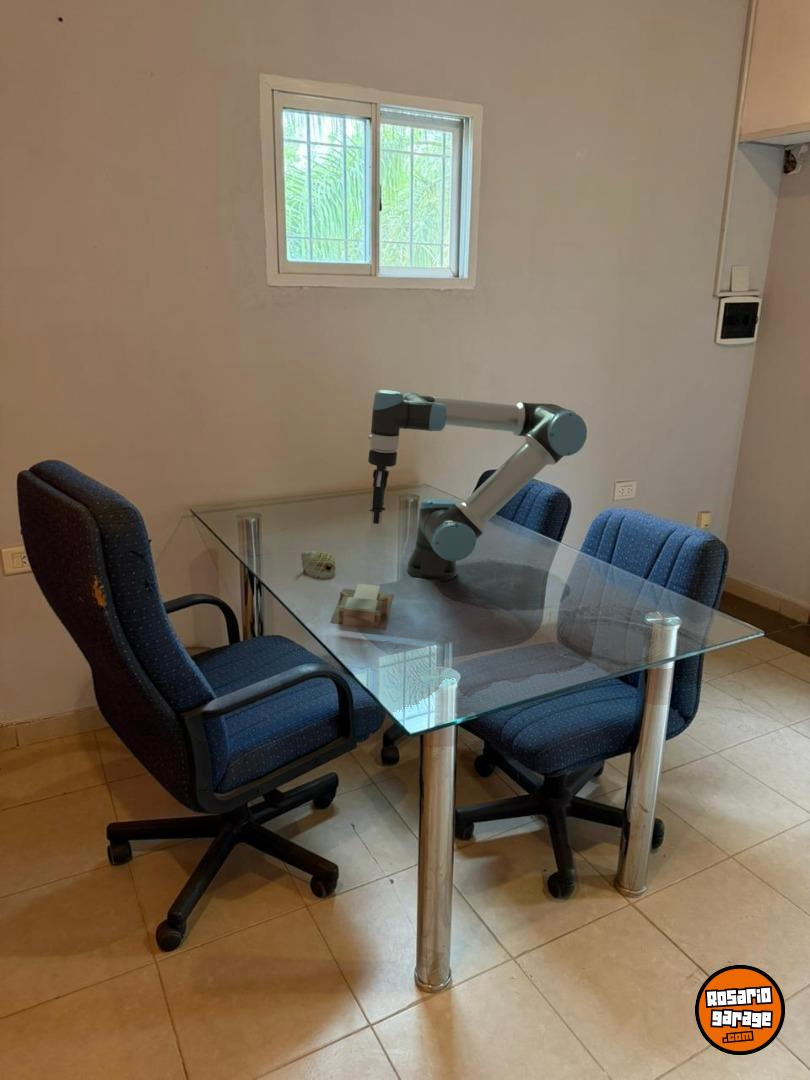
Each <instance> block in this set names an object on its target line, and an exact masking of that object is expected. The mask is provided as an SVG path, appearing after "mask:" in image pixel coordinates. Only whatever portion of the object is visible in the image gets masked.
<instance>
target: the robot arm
mask: <svg viewBox="0 0 810 1080" xmlns="http://www.w3.org/2000/svg"><path fill="white" fill-rule="evenodd" d="M445 426H455V427H464V428H474V429H485V430H493V431H494V430H495V431H503V432H511V433H512V434H513V435H514V436H518V437H519V436H520V437H524V438H525V442H524V443H523V444H522V445H521V446H520V447H519V448H518V449H517V450H516V451H515V452H514V453H513V454H512V455H511V456H510V457H509V458H508V459H507V460H505V462H503V464H502V465H500V466H499V467H498V468H497V469H496V471H493V472H494V473H492V474H491V475H490V476H489V477H488V478H487V479H486V480H485V481H484V482H483V483H481V485H480V486H478V487H477V488H476V490H474V492H473V493H472V494H470V495H469V496H468V497H467V498H466V499H465V500H464V501H462V502H458V501H455V500H451V499H445V498H424V499H423V500H421V502H420V507H419V508H418V510H419V514H418V520H417V521H418V522H417V531H416V541H415V546H414V549H413V551H412V553H411V555H410V558H409V560H408V562H407V567H406V569H407V573H408V574H409V575H411V576H413V577H415V578H417V579H423V580H430V581H440V582H447V581H448V580H449V581H452V580H454V579H455V578H456V577H457V573H458V567H457V561H461V560H464V559H466V558H468V557H469V556H470V555H471V554H472V553H473V551H474V549H475V548H476V544H477V539H479V538H480V536H482V535H483V534H484V531H485V524H486V523H487V522H488V521H489V520H490V519H491V518H493V517H494V516H495V515H496V514H497V513H498V512H499V511H500V510H501V509H502V508H503V507H504V506H505V505H507V503H508V502H510V500H511V499H512V498H513V497H515V496H516V495H517V494H518V493H519V492H520V491H521V490H522V489H523V488H524V487H525V486H526V485H528V483H529V482H530V481H532V480H533V478H535V476H537V475H538V474H539V473H540V472H541V471H542V470H543V469H544V468H545V467H546V466H548V465H550V466H551V465H553V466H554V465H556V464H558V462H559V461H560V460H561V459H562V458H563V457H568V456H573V455H575V454H576V453H578V452H580V450H581V449H583V447H584V445H585V443H586V440H587V437H588V435H587V434H588V431H587V430H588V429H587V425H586V423H585V420H584V418H582V417H581V416H580V415H579V414H577V413H576V412H575V411H573V410H570V409H567V408H564V407H562V406H561V405H557V404H554V403H538V402H537V403H535V402H533V403H532V402H518V403H516V404H514V405H513V404H504V403H498V402H497V403H496V402H495V403H494V402H489V401H488V402H487V401H477V400H468V399H458V398H449V397H439V396H430V395H429V396H428V395H421V394H418V393H415V392H408V393H405V394H403V392H400V391H396V390H389V389H380V390H377V391H376V392H375V394H374V398H373V405H372V415H371V426H370V427H371V429H370V435H368V437H367V439H369V440H370V442H369V447H370V448H369V449H368V460H367V461H368V464H371V465H373V466H376V468H373V469H374V470H373V474H372V478H373V482H372V486H373V494H372V506H371V508H369V512H371V520H370V531H369V534H370V535H375V536H376V535H377V536H380V535H381V530H382V522H383V521H382V520H383V511H386V507H384V504H385V503H384V501H385V494H386V493H385V491H386V488H387V484H388V477H389V475H390V473H389V472H390V470H387V468H390V467H394V466H396V464H397V458H398V452H397V450H398V449H399V441H400V431H401V429H404V430H416V431H417V430H418V431H428V432H441V431H442V430H444V429H445ZM455 576H456V577H455ZM454 577H455V578H454ZM453 578H454V579H453ZM451 579H452V580H451ZM449 581H448V582H449Z"/></svg>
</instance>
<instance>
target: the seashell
mask: <svg viewBox="0 0 810 1080" xmlns="http://www.w3.org/2000/svg"><path fill="white" fill-rule="evenodd" d="M300 560H301V564H302V565H301V566H302V570H303V571H304V572H305V573H306V574H307V575H308V576H310V577H313V578H316V579H331V578H334V576H335V572H336V562H335V559H334V557H333V555H332V554H330V553H328V552H327V551H323V550H319V551H318V550H317V551H315V550H304V551H302V552H301V556H300Z"/></svg>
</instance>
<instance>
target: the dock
mask: <svg viewBox="0 0 810 1080" xmlns="http://www.w3.org/2000/svg"><path fill="white" fill-rule="evenodd" d="M355 591H356V589H349V588H342V591H340V594H339V599H338V600H337V604H336V606H335V609H334V611H333V613H332V616H331V619H330V622H329V623H330V624H335V625H344V626H351V627H352V626H353V627H361V628H367V629H368V628H369V629H375V630H383V631H384V630H385V631H386V630H387V627H388V623H389V618H390V614H391V608H392V604H393V599H394V594H393V593H392V594H391V593H383V592H379V595H378V599H377V600H371V599H362V598H354V594H355Z"/></svg>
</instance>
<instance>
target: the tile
mask: <svg viewBox="0 0 810 1080" xmlns="http://www.w3.org/2000/svg"><path fill="white" fill-rule="evenodd" d="M380 588H381V585H374V584H373V585H372V584H365V583H357V585H356V589H355V590H356V591H355V594H354V598H362V599H371V600H377V599H378V595H379V593H380Z"/></svg>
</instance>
